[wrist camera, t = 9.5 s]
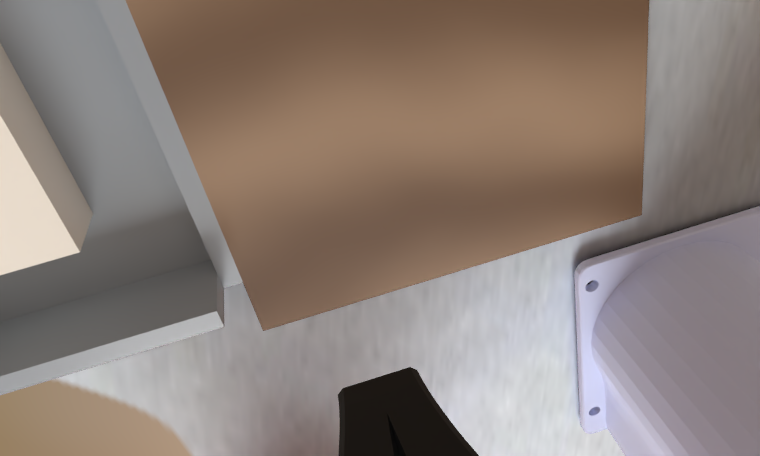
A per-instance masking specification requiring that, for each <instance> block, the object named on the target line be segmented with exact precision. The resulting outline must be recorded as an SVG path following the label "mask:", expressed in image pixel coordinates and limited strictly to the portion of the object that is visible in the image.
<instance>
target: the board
mask: <svg viewBox="0 0 760 456" xmlns="http://www.w3.org/2000/svg"><path fill="white" fill-rule="evenodd" d="M125 1H126V3H127V5H128V8H129V10H130V13H131V15H132V17H133V20H134V22H135V25H136V27H137V29H138V32H139V34H140V37H141V39H142V41H143V44H144V46H145V49H146V51H147V53H148V56H149V58H150V61H151V63H152V65H153V68H154V70H155V73H156V75H157V77H158V80H159V82H160V85H161V87H162V89H163V92H164V94H165V96H166V99H167V101H168V104H169V106H170V108H171V111H172V113H173V116H174V118H175V120H176V123H177V125H178V128H179V130H180V132H181V135H182V137H183V140H184V142H185V144H186V147H187V149H188V152H189V154H190V156H191V159H192V161H193V164H194V166H195V168H196V171H197V173H198V176H199V178H200V180H201V183H202V185H203V188H204V190H205V192H206V195H207V197H208V200H209V202H210V204H211V207H212V209H213V212H214V214H215V216H216V219H217V221H218V224H219V226H220V228H221V231H222V233H223V236H224V238H225V240H226V243H227V245H228V248H229V250H230V252H231V255H232V257H233V260H234V262H235V264H236V267H237V269H238V272H239V274H240V276H241V279H242V281H243V284H244V286H245V288H246V291H247V293H248V296H249V298H250V300H251V303H252V305H253V308H254V310H255V312H256V315H257V317H258V320H259V322H260V324H261V327H262V329H263V331H265V330H268V329H271V328H274V327H278V326H281V325H284V324H288V323H291V322H294V321H297V320H301V319H304V318H307V317H310V316H314V315H317V314H320V313H323V312H327V311H330V310H333V309H336V308H340V307H343V306H346V305H350V304H353V303H356V302H359V301H363V300H366V299H369V298H372V297H376V296H379V295H382V294H385V293H389V292H392V291H395V290H398V289H402V288H405V287H408V286H412V285H415V284H418V283H421V282H425V281H428V280H431V279H434V278H438V277H441V276H444V275H447V274H451V273H454V272H457V271H460V270H464V269H467V268H470V267H473V266H477V265H480V264H483V263H487V262H490V261H493V260H496V259H500V258H503V257H506V256H509V255H513V254H516V253H519V252H522V251H526V250H529V249H532V248H535V247H539V246H542V245H545V244H549V243H552V242H555V241H558V240H562V239H565V238H568V237H571V236H575V235H578V234H581V233H584V232H588V231H591V230H594V229H597V228H601V227H604V226H607V225H611V224H614V223H617V222H620V221H624V220H627V219H630V218H633V217H637V216H640V215H642V192H643V163H644V134H645V104H646V75H647V46H648V17H649V0H125Z"/></svg>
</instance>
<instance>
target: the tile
mask: <svg viewBox="0 0 760 456" xmlns="http://www.w3.org/2000/svg"><path fill="white" fill-rule="evenodd" d="M92 215H93V213H92V211H91V209H90V207H89V205H88V203H87V202H86V200H85V198H84V196H83V194H82V192H81V191H80V189H79V187H78V185H77V183H76V181H75V180H74V178H73V176H72V174H71V172H70V170H69V168H68V167H67V165H66V163H65V161H64V159H63V157H62V156H61V154H60V152H59V150H58V148H57V146H56V145H55V143H54V141H53V139H52V137H51V135H50V134H49V132H48V130H47V128H46V126H45V124H44V122H43V121H42V119H41V117H40V115H39V113H38V111H37V110H36V108H35V106H34V104H33V102H32V100H31V99H30V97H29V95H28V93H27V91H26V89H25V88H24V86H23V84H22V82H21V80H20V78H19V76H18V75H17V73H16V71H15V69H14V67H13V65H12V64H11V62H10V60H9V58H8V56H7V54H6V53H5V51H4V49H3V47H2V45H1V43H0V275H3V274H7V273H10V272H13V271H17V270H20V269H24V268H27V267H31V266H34V265H38V264H41V263H45V262H48V261H51V260H55V259H58V258H62V257H65V256H69V255H72V254H76V253H79V252H80V251H81V248H82V245H83V242H84V239H85V236H86V233H87V230H88V227H89V224H90V221H91V218H92Z"/></svg>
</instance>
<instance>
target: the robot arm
mask: <svg viewBox="0 0 760 456" xmlns="http://www.w3.org/2000/svg"><path fill="white" fill-rule="evenodd" d="M574 276H575V301H576V326H577V352H578V377H579V403H580V424H581V427H582V428H583V430H584V431H585V432H586V433H590V434H592V433H596V432H599V431H602V430H605V429H608V430H609V432H610V433H611V435H612V436H613V438H614V439H615V441H616V442H617V444H618V445H619V447H620V448H621V450H622V451H623V453H624V454H625V456H760V206H758V207H754V208H751V209H748V210H745V211H742V212H738V213H735V214H732V215H729V216H725V217H722V218H719V219H716V220H712V221H709V222H706V223H703V224H700V225H696V226H693V227H690V228H687V229H683V230H680V231H677V232H674V233H671V234H667V235H664V236H661V237H658V238H654V239H651V240H648V241H645V242H642V243H638V244H635V245H632V246H629V247H625V248H622V249H619V250H616V251H612V252H609V253H606V254H603V255H600V256H596V257H593V258H590V259H587V260H585V261H583V262H581V263H580V264H579V265H578V266H577V268H576V269H575V274H574ZM592 280H593V281H592ZM590 281H592V282H591V283H590V284H589V285H587V284H588V282H590ZM338 399H339V410H340V439H339V456H479V455H478V454H477V453H476V452H475V451H474V449H473V448H472V447H471V446H470V445H469V444H468V442H467V441H466V440H465V439H464V438H463V437H462V435H461V434H460V433H459V432H458V430H457V429H456V428H455V427H454V425H453V424H452V423H451V421H450V420H449V419H448V417H447V416H446V415H445V413H444V412H443V411H442V409H441V408H440V407H439V405H438V404H437V402H436V401H435V399H434V398H433V396H432V395H431V393H430V392H429V390H428V389H427V387H426V385H425V384H424V382H423V380H422V379H421V377H420V375H419V373H418V371H417V370H416V369H413V368H411V367H409V368H406V369H403V370H400V371H396V372H393V373H390V374H387V375H384V376H381V377H377V378H374V379H371V380H368V381H365V382H362V383H358V384H355V385H352V386H349V387H346V388H343V389H342V390H341V392H340V393H339V394H338Z"/></svg>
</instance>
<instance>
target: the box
mask: <svg viewBox="0 0 760 456" xmlns="http://www.w3.org/2000/svg"><path fill="white" fill-rule="evenodd" d="M0 43H1V45H2V47H3V49H4V51H5V53H6V54H7V56H8V58H9V60H10V62H11V64H12V65H13V67H14V69H15V71H16V73H17V75H18V76H19V78H20V80H21V82H22V84H23V86H24V88H25V89H26V91H27V93H28V95H29V97H30V99H31V100H32V102H33V104H34V106H35V108H36V110H37V111H38V113H39V115H40V117H41V119H42V121H43V122H44V124H45V126H46V128H47V130H48V132H49V134H50V135H51V137H52V139H53V141H54V143H55V145H56V146H57V148H58V150H59V152H60V154H61V156H62V157H63V159H64V161H65V163H66V165H67V167H68V168H69V170H70V172H71V174H72V176H73V178H74V180H75V181H76V183H77V185H78V187H79V189H80V191H81V192H82V194H83V196H84V198H85V200H86V202H87V203H88V205H89V207H90V209H91V211H92V213H93V215H92V218H91V221H90V224H89V227H88V230H87V233H86V236H85V239H84V242H83V245H82V248H81V251H80V252H79V253H76V254H72V255H69V256H65V257H62V258H58V259H55V260H51V261H48V262H45V263H41V264H38V265H34V266H31V267H27V268H24V269H20V270H17V271H13V272H10V273H7V274H3V275H0V395H3V394H6V393H9V392H13V391H16V390H19V389H22V388H25V387H29V386H32V385H36V384H39V383H42V382H46V381H49V380H52V379H55V378H59V377H62V376H65V375H69V374H72V373H75V372H78V371H82V370H85V369H88V368H91V367H95V366H98V365H101V364H105V363H108V362H111V361H114V360H118V359H121V358H124V357H128V356H131V355H134V354H137V353H141V352H144V351H147V350H151V349H154V348H157V347H160V346H164V345H167V344H170V343H174V342H177V341H180V340H183V339H187V338H190V337H193V336H197V335H200V334H203V333H206V332H210V331H213V330H216V329H220V328H223V327H224V288H227V287H231V286H234V285H237V284H241V283H243V281H242V279H241V276H240V274H239V272H238V269H237V267H236V264H235V262H234V260H233V257H232V255H231V252H230V250H229V248H228V245H227V243H226V240H225V238H224V236H223V233H222V231H221V228H220V226H219V224H218V221H217V219H216V216H215V214H214V212H213V209H212V207H211V204H210V202H209V200H208V197H207V195H206V192H205V190H204V188H203V185H202V183H201V180H200V178H199V176H198V173H197V171H196V168H195V166H194V164H193V161H192V159H191V156H190V154H189V152H188V149H187V147H186V144H185V142H184V140H183V137H182V135H181V132H180V130H179V128H178V125H177V123H176V120H175V118H174V116H173V113H172V111H171V108H170V106H169V104H168V101H167V99H166V96H165V94H164V92H163V89H162V87H161V85H160V82H159V80H158V77H157V75H156V73H155V70H154V68H153V65H152V63H151V61H150V58H149V56H148V53H147V51H146V49H145V46H144V44H143V41H142V39H141V37H140V34H139V32H138V29H137V27H136V25H135V22H134V20H133V17H132V15H131V13H130V10H129V8H128V5H127V3H126V1H125V0H0Z"/></svg>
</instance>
